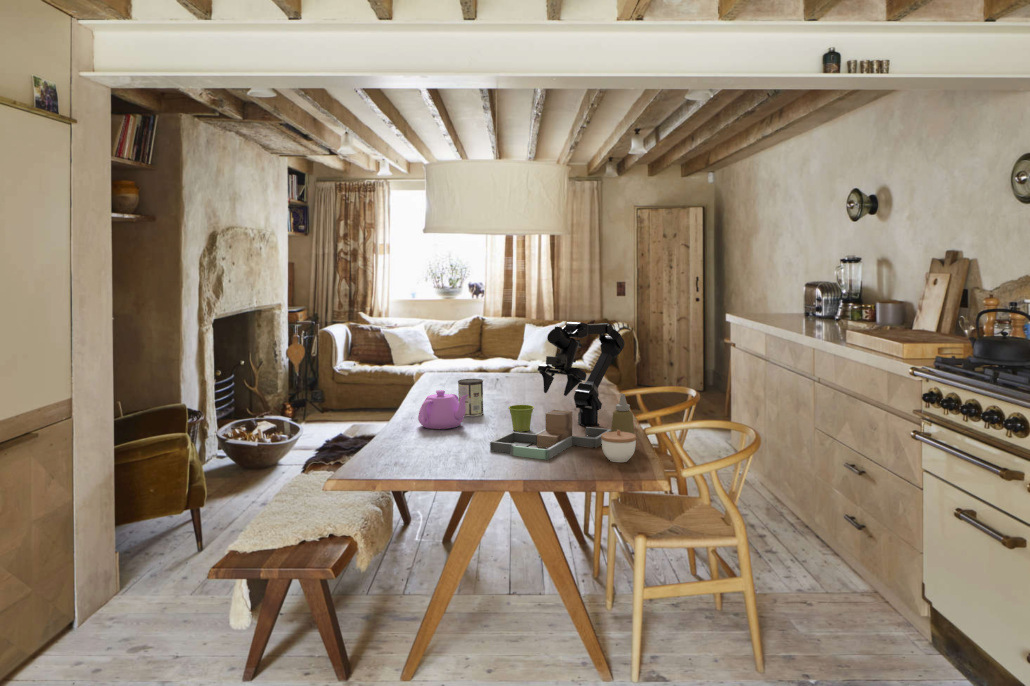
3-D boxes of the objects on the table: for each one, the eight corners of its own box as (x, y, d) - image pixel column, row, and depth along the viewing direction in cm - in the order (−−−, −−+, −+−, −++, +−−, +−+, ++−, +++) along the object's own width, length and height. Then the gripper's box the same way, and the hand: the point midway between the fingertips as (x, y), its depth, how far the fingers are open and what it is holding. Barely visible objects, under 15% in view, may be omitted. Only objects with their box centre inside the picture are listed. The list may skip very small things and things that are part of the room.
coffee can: (468, 410, 295) (467, 377, 294) (488, 413, 289) (488, 379, 288) (453, 415, 286) (452, 381, 285) (473, 417, 281) (473, 383, 279)
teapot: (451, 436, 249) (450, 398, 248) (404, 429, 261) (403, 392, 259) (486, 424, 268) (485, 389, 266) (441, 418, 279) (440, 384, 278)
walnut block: (553, 437, 246) (553, 409, 245) (572, 439, 243) (572, 411, 242) (537, 446, 233) (536, 417, 232) (556, 449, 230) (556, 419, 229)
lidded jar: (597, 455, 221) (598, 426, 220) (631, 454, 222) (631, 425, 221) (605, 465, 211) (605, 434, 210) (639, 464, 211) (640, 433, 211)
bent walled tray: (534, 429, 258) (534, 421, 258) (612, 437, 245) (612, 429, 245) (487, 452, 226) (487, 443, 226) (573, 463, 213) (573, 453, 213)
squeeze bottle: (636, 445, 234) (637, 392, 232) (632, 451, 226) (633, 396, 224) (612, 444, 236) (613, 391, 234) (607, 449, 229) (608, 395, 227)
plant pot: (531, 433, 252) (531, 409, 252) (506, 432, 254) (506, 409, 253) (536, 427, 262) (536, 405, 261) (511, 427, 263) (511, 404, 263)
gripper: (535, 343, 255) (522, 383, 251) (575, 347, 242) (562, 389, 238) (552, 355, 263) (540, 394, 259) (592, 359, 250) (580, 400, 246)
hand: (554, 394), depth 250 cm, fingers open, 9 cm apart
